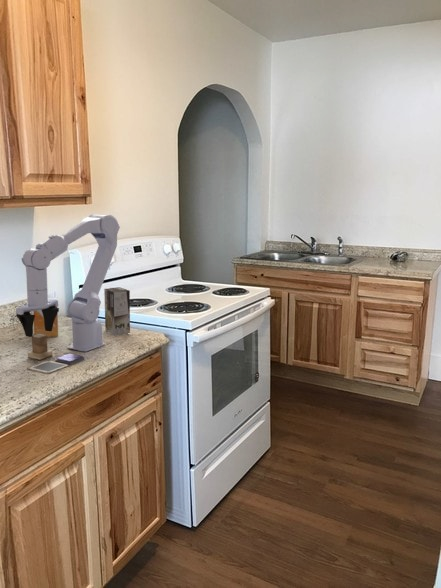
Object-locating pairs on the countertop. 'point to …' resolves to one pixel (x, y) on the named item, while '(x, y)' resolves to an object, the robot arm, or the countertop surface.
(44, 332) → the small box
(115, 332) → the coffee box
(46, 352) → the stamp
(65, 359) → the ink pad
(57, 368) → the print mark
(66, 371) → the countertop surface
